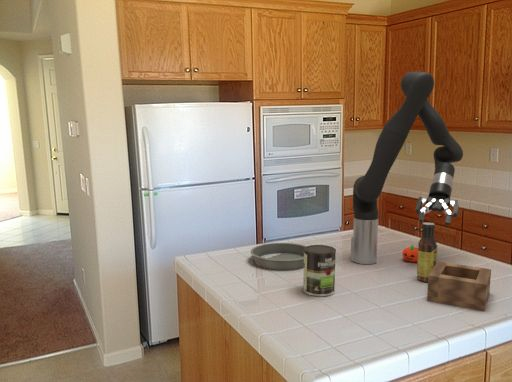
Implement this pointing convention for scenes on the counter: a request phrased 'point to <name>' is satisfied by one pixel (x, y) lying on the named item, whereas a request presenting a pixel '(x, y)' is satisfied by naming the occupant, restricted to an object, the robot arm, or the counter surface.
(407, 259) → the pumpkin
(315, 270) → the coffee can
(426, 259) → the sauce bottle
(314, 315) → the counter surface
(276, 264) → the cake pan
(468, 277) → the bottle block
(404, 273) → the counter surface
